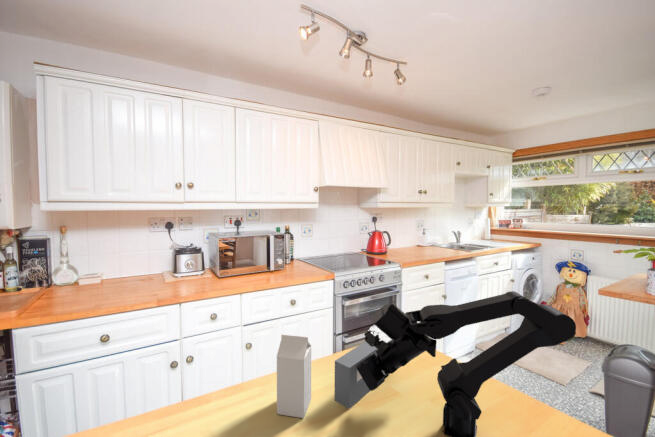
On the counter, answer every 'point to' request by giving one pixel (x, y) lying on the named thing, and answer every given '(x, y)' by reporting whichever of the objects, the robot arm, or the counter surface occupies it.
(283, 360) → the milk carton
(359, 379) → the cream button
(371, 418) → the counter surface
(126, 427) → the counter surface
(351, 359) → the console
